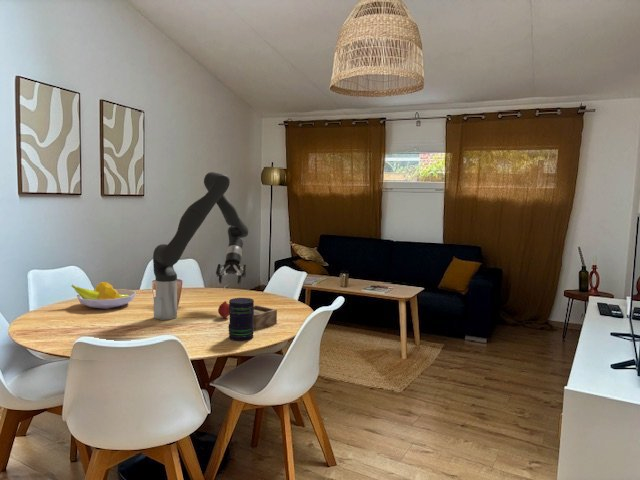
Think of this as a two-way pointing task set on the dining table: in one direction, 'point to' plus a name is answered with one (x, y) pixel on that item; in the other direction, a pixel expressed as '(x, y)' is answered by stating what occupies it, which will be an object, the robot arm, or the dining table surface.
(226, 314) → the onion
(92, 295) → the fruit bowl
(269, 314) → the wooden square tray
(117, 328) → the dining table surface
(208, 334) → the dining table surface
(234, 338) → the storage jar
